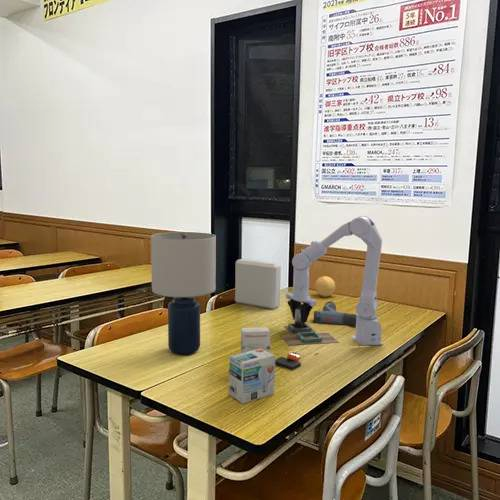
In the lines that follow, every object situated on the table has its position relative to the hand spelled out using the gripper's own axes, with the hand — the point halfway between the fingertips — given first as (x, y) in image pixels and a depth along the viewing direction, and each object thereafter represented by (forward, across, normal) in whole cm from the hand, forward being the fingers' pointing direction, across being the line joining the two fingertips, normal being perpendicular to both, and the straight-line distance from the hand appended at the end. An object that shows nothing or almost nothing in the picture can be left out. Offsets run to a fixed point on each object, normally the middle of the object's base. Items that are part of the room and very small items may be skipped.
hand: (299, 320), depth 176 cm
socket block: (+4, 0, 0) cm, 4 cm away
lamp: (+4, +7, +45) cm, 46 cm away
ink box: (+4, -17, +34) cm, 39 cm away
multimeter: (+5, -19, +20) cm, 28 cm away
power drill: (+5, +3, -24) cm, 25 cm away
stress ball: (+4, +32, -47) cm, 57 cm away
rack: (+4, -10, +5) cm, 12 cm away
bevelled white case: (+4, +38, -10) cm, 40 cm away
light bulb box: (+4, -31, +47) cm, 56 cm away
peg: (+2, 0, 0) cm, 2 cm away
